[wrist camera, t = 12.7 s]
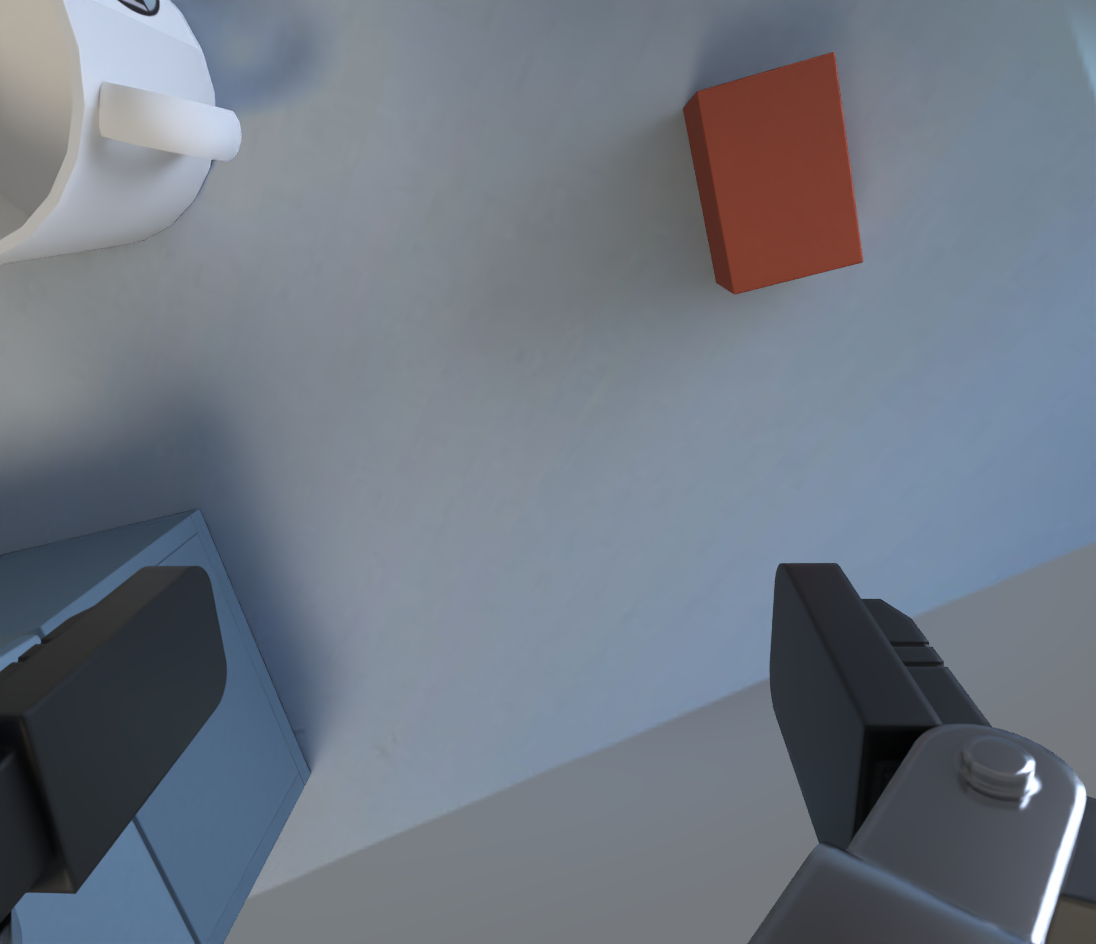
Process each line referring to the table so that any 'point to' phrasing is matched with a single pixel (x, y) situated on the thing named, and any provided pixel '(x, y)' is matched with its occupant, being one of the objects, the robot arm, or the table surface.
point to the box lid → (103, 889)
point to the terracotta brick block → (775, 175)
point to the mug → (101, 124)
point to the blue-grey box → (219, 747)
